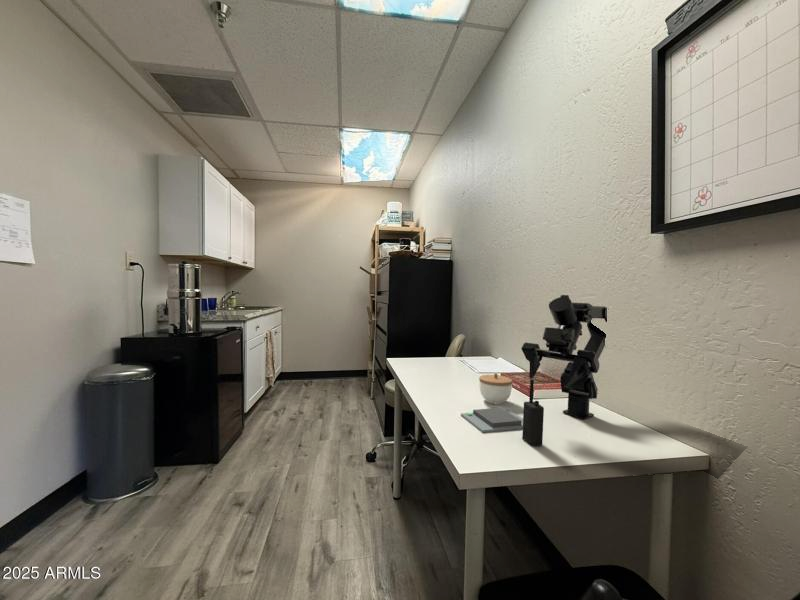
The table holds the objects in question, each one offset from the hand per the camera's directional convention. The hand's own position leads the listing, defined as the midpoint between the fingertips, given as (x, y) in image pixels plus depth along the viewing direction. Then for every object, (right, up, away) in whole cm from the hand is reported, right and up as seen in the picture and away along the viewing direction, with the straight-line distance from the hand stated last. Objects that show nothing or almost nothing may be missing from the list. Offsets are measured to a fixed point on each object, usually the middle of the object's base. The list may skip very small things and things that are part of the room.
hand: (547, 381), depth 84 cm
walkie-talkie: (-6, -14, -5) cm, 16 cm away
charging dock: (-11, -13, +7) cm, 19 cm away
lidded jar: (-6, -13, +25) cm, 29 cm away
